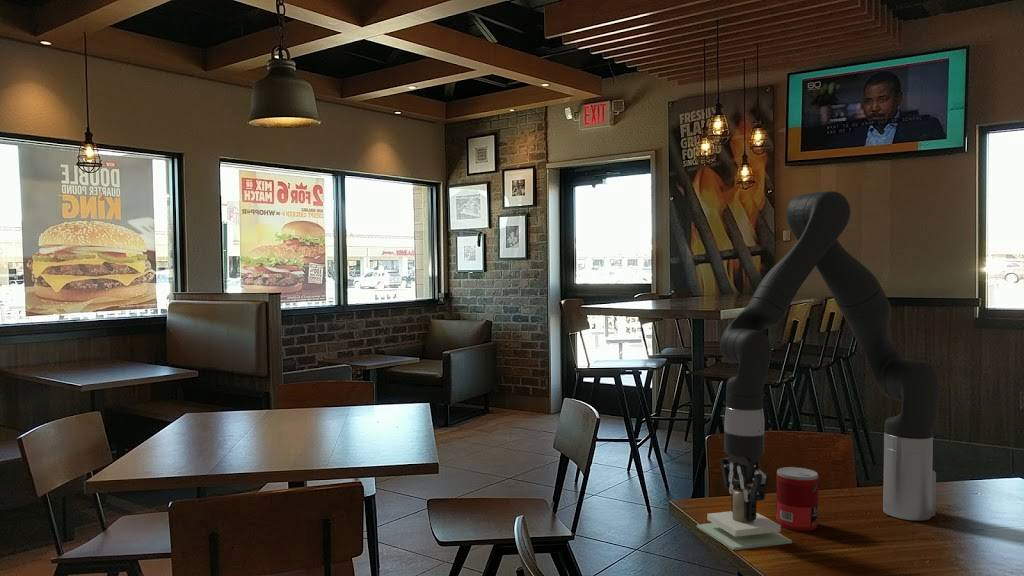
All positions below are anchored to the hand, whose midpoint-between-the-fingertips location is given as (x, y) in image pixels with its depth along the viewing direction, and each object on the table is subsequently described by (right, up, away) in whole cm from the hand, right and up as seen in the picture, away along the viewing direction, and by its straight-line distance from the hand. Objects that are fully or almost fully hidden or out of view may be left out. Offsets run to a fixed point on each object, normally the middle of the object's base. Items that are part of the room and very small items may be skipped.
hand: (743, 515), depth 149 cm
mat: (0, -4, 0) cm, 4 cm away
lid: (0, -2, 0) cm, 2 cm away
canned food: (+13, -4, +6) cm, 15 cm away
